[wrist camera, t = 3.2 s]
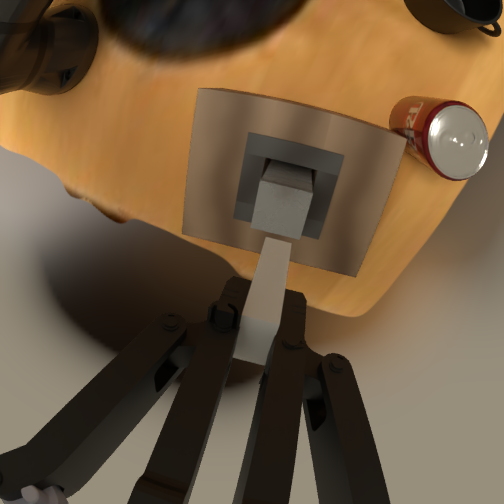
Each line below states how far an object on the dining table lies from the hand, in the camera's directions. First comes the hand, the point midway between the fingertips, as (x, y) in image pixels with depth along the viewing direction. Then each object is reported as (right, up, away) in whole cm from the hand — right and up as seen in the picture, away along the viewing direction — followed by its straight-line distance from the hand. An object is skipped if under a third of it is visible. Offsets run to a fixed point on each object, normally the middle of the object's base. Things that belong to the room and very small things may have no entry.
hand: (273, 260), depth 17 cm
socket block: (+3, +11, +18) cm, 21 cm away
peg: (+2, +8, +12) cm, 15 cm away
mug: (+22, +30, +3) cm, 37 cm away
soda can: (+18, +16, +12) cm, 27 cm away
